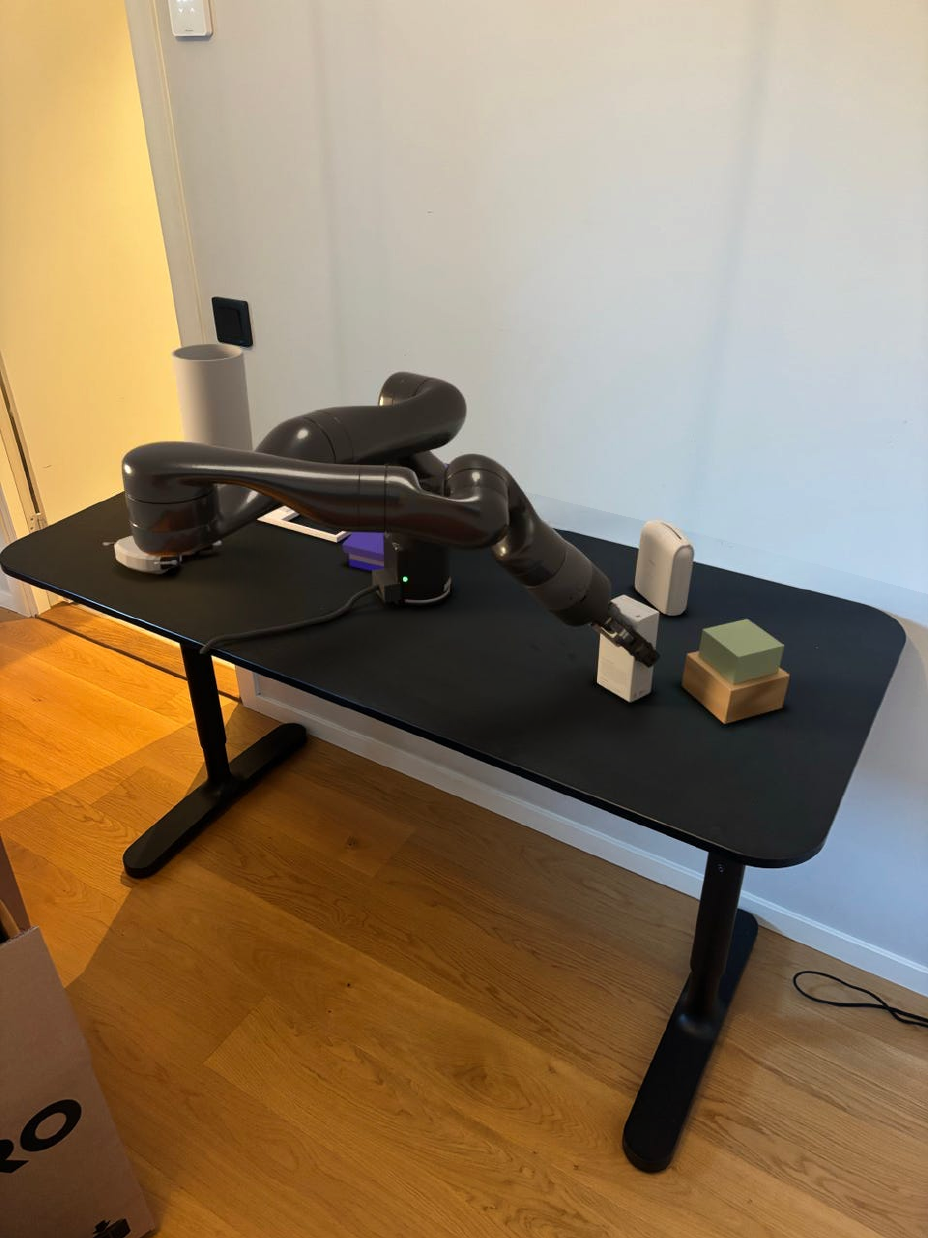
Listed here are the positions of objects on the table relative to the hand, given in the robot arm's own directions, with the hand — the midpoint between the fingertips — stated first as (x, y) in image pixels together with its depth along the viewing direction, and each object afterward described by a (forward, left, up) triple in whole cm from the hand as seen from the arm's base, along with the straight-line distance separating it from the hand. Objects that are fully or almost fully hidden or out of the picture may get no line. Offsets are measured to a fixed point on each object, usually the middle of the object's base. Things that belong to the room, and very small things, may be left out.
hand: (637, 646), depth 115 cm
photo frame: (-23, +67, -6) cm, 71 cm away
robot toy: (-51, +59, -6) cm, 78 cm away
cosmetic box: (-2, 0, -6) cm, 6 cm away
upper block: (+10, -7, -1) cm, 13 cm away
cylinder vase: (-36, +90, -6) cm, 97 cm away
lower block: (+10, -7, -6) cm, 14 cm away
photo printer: (+16, +18, -6) cm, 25 cm away
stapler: (-11, +52, -6) cm, 53 cm away
